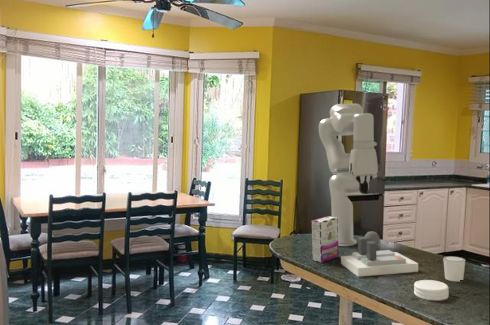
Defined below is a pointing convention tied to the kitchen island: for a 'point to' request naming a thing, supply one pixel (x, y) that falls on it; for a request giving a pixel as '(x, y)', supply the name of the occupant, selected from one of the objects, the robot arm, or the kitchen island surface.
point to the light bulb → (372, 237)
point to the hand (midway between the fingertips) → (363, 193)
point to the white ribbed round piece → (431, 290)
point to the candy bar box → (325, 239)
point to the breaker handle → (371, 250)
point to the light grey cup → (454, 268)
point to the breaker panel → (378, 268)
